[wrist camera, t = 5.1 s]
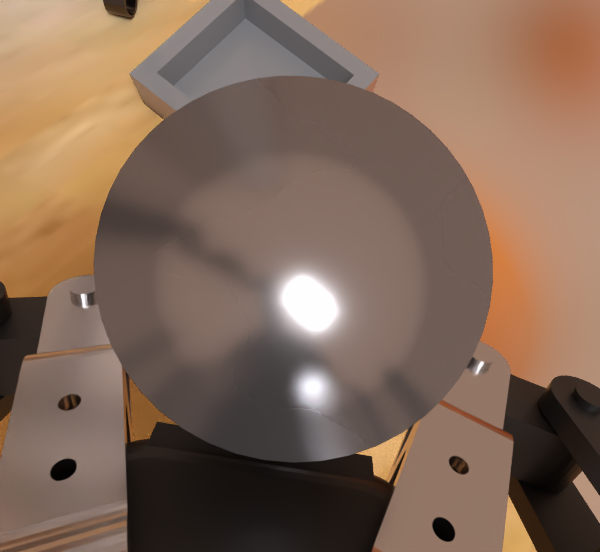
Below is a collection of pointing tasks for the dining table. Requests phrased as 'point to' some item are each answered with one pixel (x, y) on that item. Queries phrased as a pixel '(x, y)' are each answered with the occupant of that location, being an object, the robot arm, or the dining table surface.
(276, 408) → the pin
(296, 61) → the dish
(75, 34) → the dining table surface
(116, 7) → the coffee press
